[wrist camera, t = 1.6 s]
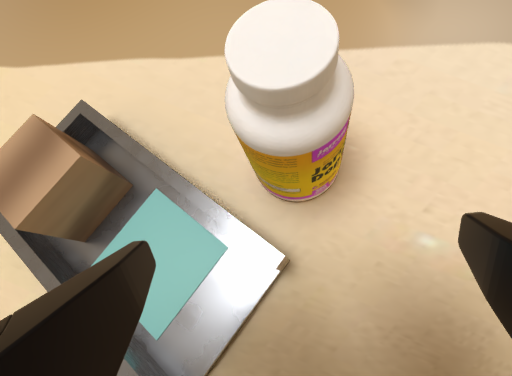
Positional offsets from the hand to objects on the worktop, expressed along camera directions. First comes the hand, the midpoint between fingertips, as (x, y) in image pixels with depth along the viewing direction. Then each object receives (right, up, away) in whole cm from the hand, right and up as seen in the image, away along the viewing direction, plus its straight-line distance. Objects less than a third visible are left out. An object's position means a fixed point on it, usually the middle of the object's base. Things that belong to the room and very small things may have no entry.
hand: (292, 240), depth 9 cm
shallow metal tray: (-11, -2, +16) cm, 19 cm away
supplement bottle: (+2, +3, +15) cm, 16 cm away
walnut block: (-16, +1, +17) cm, 23 cm away
